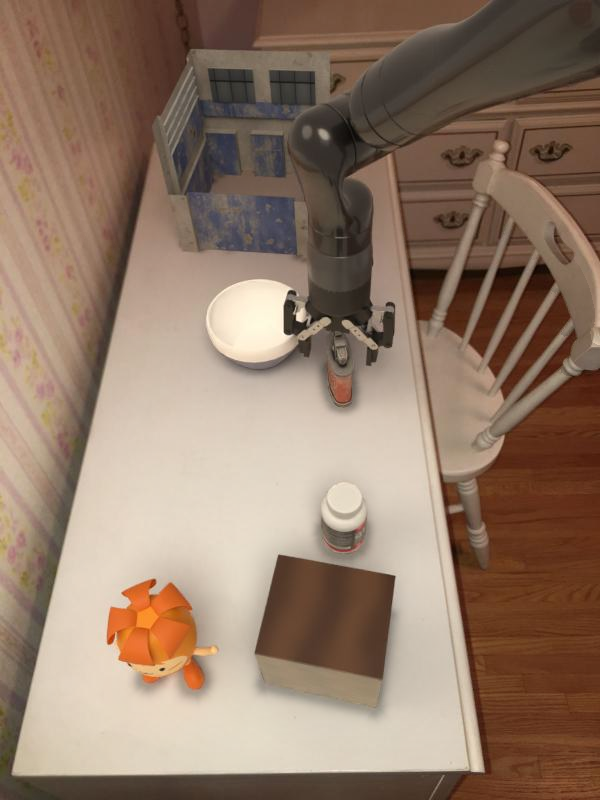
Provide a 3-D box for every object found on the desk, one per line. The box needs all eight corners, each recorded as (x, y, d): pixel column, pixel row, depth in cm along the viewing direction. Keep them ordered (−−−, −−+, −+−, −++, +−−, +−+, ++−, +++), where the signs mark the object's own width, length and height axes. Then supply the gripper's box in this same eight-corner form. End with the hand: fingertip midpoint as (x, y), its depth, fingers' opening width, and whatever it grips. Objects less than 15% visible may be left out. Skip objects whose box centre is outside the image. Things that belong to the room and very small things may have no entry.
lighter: (356, 406, 91) (358, 360, 83) (332, 409, 91) (332, 364, 83) (346, 362, 96) (347, 315, 88) (323, 365, 95) (322, 319, 87)
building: (331, 175, 123) (330, 50, 104) (314, 259, 109) (310, 133, 91) (213, 169, 126) (191, 46, 107) (182, 251, 112) (151, 126, 93)
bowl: (326, 336, 99) (326, 301, 93) (271, 401, 92) (267, 367, 86) (251, 301, 104) (245, 265, 98) (193, 359, 97) (184, 325, 91)
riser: (387, 614, 73) (395, 575, 64) (375, 707, 68) (382, 680, 58) (285, 594, 75) (278, 553, 66) (265, 684, 70) (254, 653, 60)
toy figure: (116, 688, 70) (70, 649, 58) (138, 615, 75) (100, 565, 63) (222, 704, 69) (198, 669, 56) (237, 629, 73) (218, 581, 61)
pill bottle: (364, 556, 78) (367, 520, 70) (320, 553, 78) (318, 517, 70) (366, 515, 81) (369, 477, 73) (323, 513, 81) (322, 474, 73)
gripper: (272, 282, 74) (281, 371, 87) (397, 296, 72) (387, 385, 85) (286, 239, 78) (293, 330, 91) (404, 252, 76) (393, 343, 89)
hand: (338, 356), depth 88 cm, fingers open, 8 cm apart
